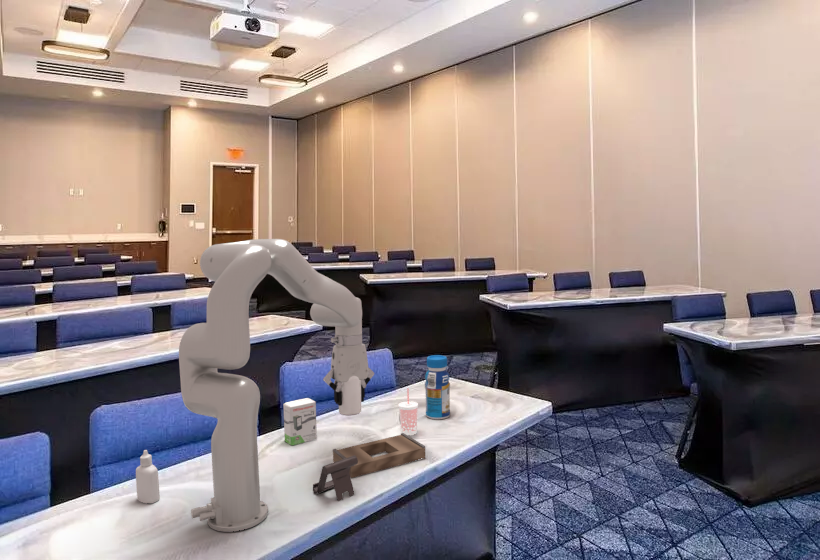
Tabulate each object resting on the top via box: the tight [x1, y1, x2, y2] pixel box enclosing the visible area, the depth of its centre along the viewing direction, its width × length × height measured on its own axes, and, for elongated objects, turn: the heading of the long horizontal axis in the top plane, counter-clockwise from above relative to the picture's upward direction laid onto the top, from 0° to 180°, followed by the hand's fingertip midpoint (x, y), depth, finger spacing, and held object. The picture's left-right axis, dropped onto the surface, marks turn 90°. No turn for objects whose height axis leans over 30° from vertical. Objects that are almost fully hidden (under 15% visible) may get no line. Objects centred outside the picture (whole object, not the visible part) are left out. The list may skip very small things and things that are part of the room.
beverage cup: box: [397, 387, 419, 436], centre depth 168 cm, size 6×6×14 cm
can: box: [338, 373, 362, 417], centre depth 157 cm, size 6×6×12 cm
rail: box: [332, 433, 426, 479], centre depth 149 cm, size 22×12×3 cm, turn 120°
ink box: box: [283, 397, 318, 446], centre depth 164 cm, size 9×5×12 cm, turn 127°
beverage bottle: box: [424, 354, 451, 420], centre depth 183 cm, size 8×8×20 cm
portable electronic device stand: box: [312, 455, 358, 502], centre depth 130 cm, size 9×8×8 cm
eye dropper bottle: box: [135, 449, 161, 504], centre depth 128 cm, size 4×6×12 cm
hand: (349, 402), depth 157 cm, fingers closed on can, 6 cm apart
